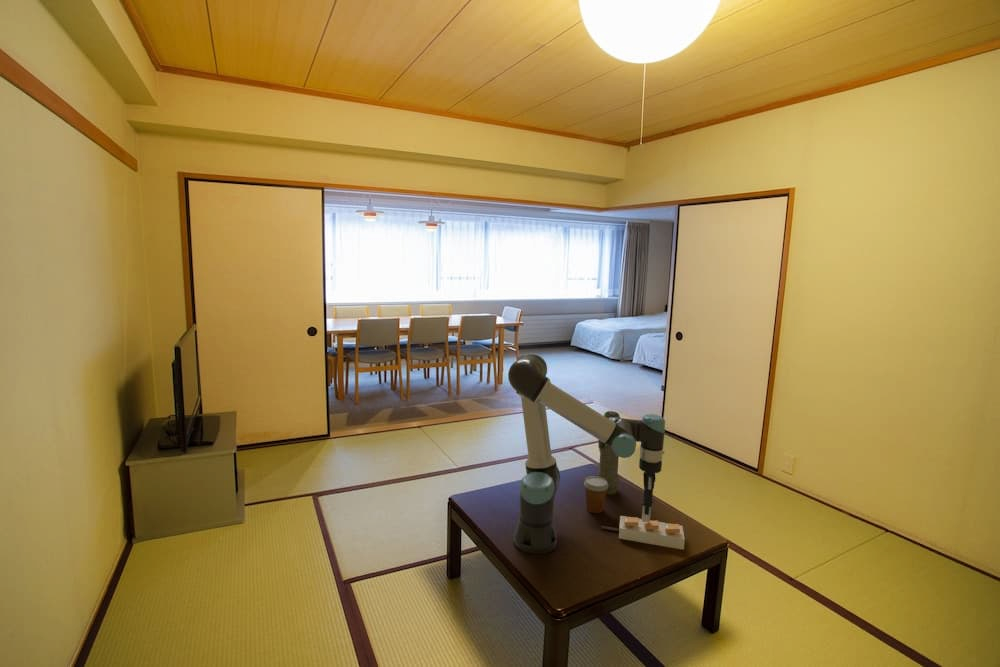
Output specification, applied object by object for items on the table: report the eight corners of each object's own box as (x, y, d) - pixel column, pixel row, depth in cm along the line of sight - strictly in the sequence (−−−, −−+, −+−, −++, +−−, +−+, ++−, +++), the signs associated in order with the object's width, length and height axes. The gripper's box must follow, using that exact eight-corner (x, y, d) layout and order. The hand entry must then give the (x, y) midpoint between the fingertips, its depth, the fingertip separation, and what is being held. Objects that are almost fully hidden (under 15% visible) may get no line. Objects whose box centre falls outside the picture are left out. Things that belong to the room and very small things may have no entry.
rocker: (665, 533, 166) (665, 529, 166) (665, 527, 169) (664, 524, 169) (680, 532, 165) (679, 528, 165) (679, 527, 168) (678, 523, 168)
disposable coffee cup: (605, 504, 194) (606, 476, 192) (608, 516, 185) (610, 487, 183) (581, 502, 195) (583, 475, 193) (583, 514, 186) (585, 485, 184)
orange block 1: (624, 526, 170) (624, 522, 170) (624, 521, 173) (624, 517, 173) (638, 525, 169) (637, 521, 168) (638, 520, 172) (637, 517, 172)
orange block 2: (645, 529, 168) (644, 525, 168) (644, 524, 171) (644, 520, 171) (659, 529, 167) (658, 525, 167) (658, 524, 170) (657, 520, 170)
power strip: (600, 535, 172) (601, 523, 171) (602, 522, 180) (602, 511, 180) (683, 549, 164) (684, 537, 163) (681, 535, 173) (682, 524, 172)
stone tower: (624, 490, 206) (629, 413, 201) (605, 497, 200) (610, 418, 195) (608, 482, 214) (613, 408, 208) (590, 489, 207) (594, 412, 202)
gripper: (663, 467, 159) (657, 532, 162) (661, 453, 171) (655, 513, 175) (639, 464, 161) (634, 528, 164) (639, 450, 173) (634, 510, 177)
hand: (645, 521), depth 169 cm, fingers closed
